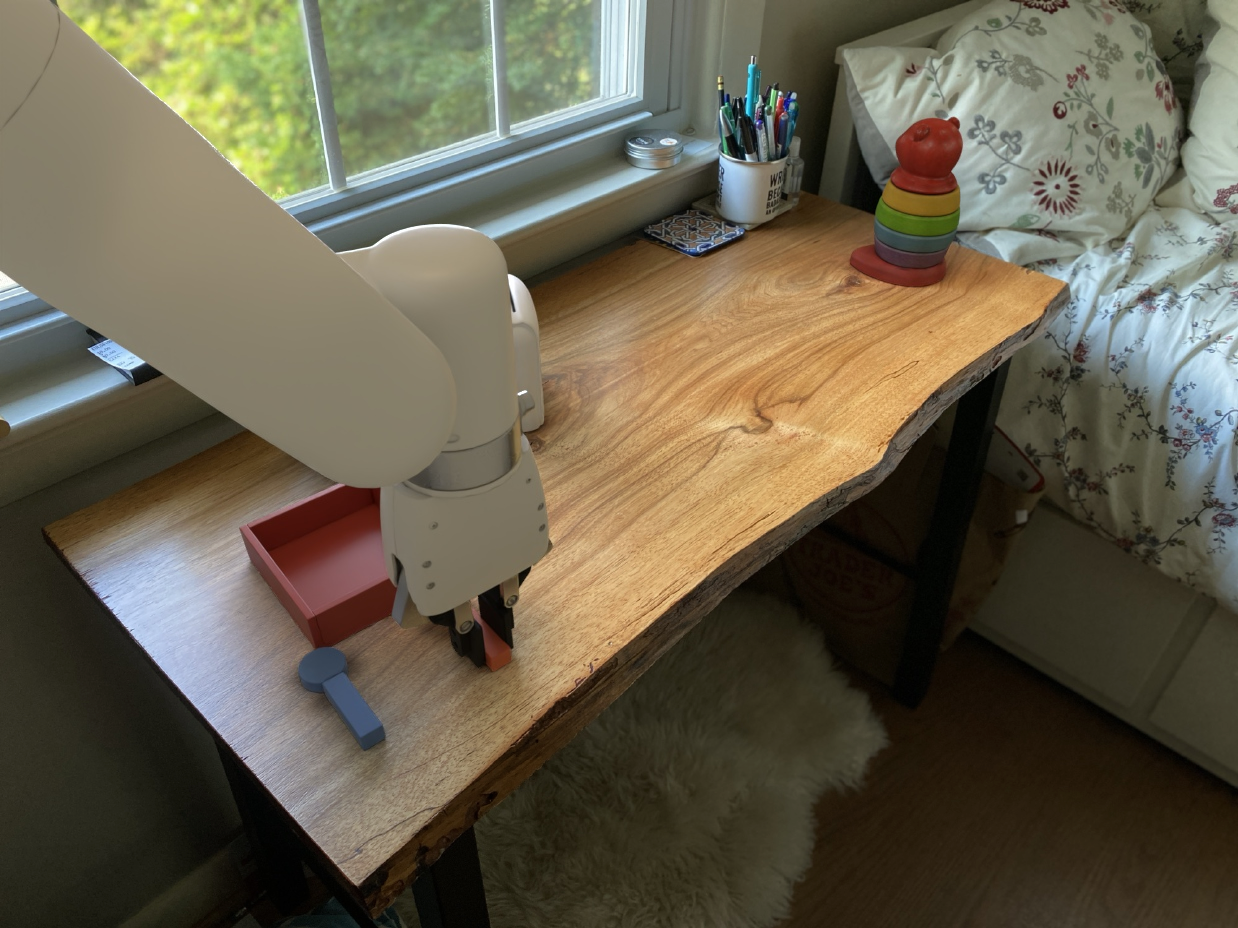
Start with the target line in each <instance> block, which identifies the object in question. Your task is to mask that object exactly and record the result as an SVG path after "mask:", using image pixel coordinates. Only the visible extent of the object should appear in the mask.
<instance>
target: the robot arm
mask: <svg viewBox="0 0 1238 928" xmlns="http://www.w3.org/2000/svg"><path fill="white" fill-rule="evenodd" d="M0 272H1V273H2V274H4V275H5V276H6V277H8V278H9V279H11V280H12V281H13V282H15V283H16V284H17V285H18V286H20V287H22V288H23V289H24V290H26V291H28V292H29V293H31V294H32V295H34V296H35V297H37V298H38V299H41V300H42V301H43V302H45V303H47V304H48V305H49V306H52V307H53V308H55V309H57V310H58V311H60V312H61V313H63V314H65V315H67V316H68V317H70V318H72V319H73V320H76V322H79V323H81V324H82V325H84V326H86V327H88V328H89V329H91V330H92V331H95V332H96V333H98V334H100V335H101V336H103V337H104V338H106V339H108V340H110V341H111V342H112V343H115V344H116V345H118V346H120V347H121V348H123V349H124V350H125V351H128V352H129V353H131V354H132V355H134V356H136V357H137V358H139V359H140V360H142V361H143V362H145V363H146V364H148V365H149V366H150V367H152V368H154V369H155V370H157V371H159V372H160V373H161V374H162V375H164V376H166V377H168V378H169V379H170V380H172V381H173V382H175V383H177V384H178V385H179V386H181V387H183V388H184V389H186V391H189V392H190V393H192V394H193V395H195V396H196V397H198V398H199V399H201V400H202V401H204V402H205V403H206V404H208V405H210V406H211V407H213V408H214V409H216V410H217V411H218V412H220V413H222V414H223V415H225V416H226V417H228V418H230V419H231V420H232V421H234V422H236V423H237V424H239V425H241V426H242V427H243V428H245V429H247V430H249V431H250V432H251V433H253V434H255V435H256V436H258V437H260V438H261V439H263V440H264V441H266V442H267V443H269V444H271V445H272V446H274V447H276V448H278V449H279V450H281V451H282V452H284V453H285V454H287V455H289V456H291V457H292V458H294V459H295V460H297V461H299V462H300V463H302V464H304V465H305V466H307V467H308V468H310V469H311V470H313V471H315V472H317V473H318V474H320V475H322V476H324V477H325V478H327V479H328V480H331V481H333V482H335V483H337V484H339V483H340V484H343V485H348V486H353V487H357V488H379V487H381V493H380V518H381V532H382V542H383V551H384V558H385V565H386V569H387V573H388V576H389V578H390V580H391V582H392V583H393V585H394V586H395V587H397V591H396V596H395V601H394V605H393V610H392V614H391V618H392V619H393V621H394V622H395V623H396V624H397V625H398V626H399V628H400V629H402V630H404V631H405V630H409V629H414V628H418V627H422V626H426V625H427V624H429V623H432V624H433V625H437V626H441V627H445V628H447V629H448V634H449V640H450V644H451V647H452V649H453V650H454V652H455V654H457V655H458V656H459V658H460V659H463V658H465V657H467V658H468V659H469V660H470V662H471V663H472V664H473V665H474V666H475V667H476V669H481V668H483V667H485V666H486V663H485V662H486V657H485V652H486V651H485V644H484V636H483V629H482V627H481V625H480V624H479V623H478V622H477V621H476V620H475V619H474V616H473V614H472V609H471V606H472V605H471V604H472V603H471V600H472V599H473V598H476V597H477V602H478V609H479V615H480V617H481V618H482V619H483V620H484V621H485V622H486V623H487V624H488V625H489V626H490V628H491V629H492V630H493V631H494V632H495V633H496V634H497V635H498V636H499V637H500V638H501V639H502V640H503V641H504V642H505V643H506V644H507V645H508V646H509V647H510V648H511V650H513V649H514V637H513V630H514V629H515V617H514V607H515V606H516V605H517V604H518V603H519V601H520V588H521V586H522V585H523V584H524V582H525V580H526V579H527V577H528V576H529V575H530V573H531V571H532V567H535V566H536V565H537V564H538V563H539V562H541V561H542V559H544V558H545V557H546V556H547V555H548V554H549V553H550V552H551V551H552V549H553V548H554V543H553V542H552V540H551V538H550V527H549V526H550V525H549V515H548V508H547V507H548V506H547V502H546V496H545V495H546V494H545V491H544V486H543V482H542V478H541V473H540V470H539V467H538V463H537V461H536V457H535V455H534V452H533V449H532V447H531V444H530V441H529V439H528V437H527V436H526V434H524V432H522V418H523V417H525V416H526V413H529V412H531V411H533V410H534V409H535V402H534V399H533V397H532V396H531V394H530V393H529V392H528V391H523V392H520V393H518V394H517V380H516V366H515V353H514V340H513V327H512V314H511V301H510V288H509V277H508V274H509V271H508V263H507V260H506V258H505V255H504V253H503V251H502V249H501V248H500V246H499V245H498V244H497V243H496V242H495V241H494V240H493V239H492V238H491V237H489V236H488V235H487V234H484V233H483V232H481V231H479V230H477V229H474V228H471V227H468V226H463V225H457V224H449V223H447V224H442V223H439V224H438V223H437V224H425V225H424V224H423V225H417V226H411V227H407V228H404V229H400V230H397V231H394V232H392V233H390V234H388V235H386V236H384V237H383V238H382V239H380V240H379V241H377V242H376V243H374V244H373V245H371V246H368V247H362V248H357V249H353V250H347V251H346V250H345V251H340V252H339V251H338V252H335V251H334V250H333V249H331V248H330V247H329V246H328V245H327V244H326V243H325V242H324V241H322V240H321V239H320V238H319V237H318V236H317V235H315V234H314V232H312V231H311V230H310V229H308V228H307V227H306V226H305V225H303V224H302V222H300V221H299V220H298V219H297V218H295V216H293V215H292V214H290V212H289V211H287V210H286V209H284V208H283V206H281V205H280V204H279V203H277V202H276V201H275V200H274V199H273V198H272V197H271V196H270V195H268V194H267V193H266V192H264V191H263V189H262V188H260V186H258V185H256V183H255V182H253V181H252V180H251V179H250V178H249V177H248V176H246V174H244V173H243V172H242V171H241V170H240V169H238V168H237V167H236V165H234V163H232V162H231V161H230V160H229V159H228V158H226V156H225V155H223V154H222V153H221V152H220V151H219V150H218V149H217V148H216V146H214V145H213V144H212V143H211V142H210V141H209V140H208V139H207V138H206V137H204V135H202V134H201V133H200V132H199V131H198V130H197V129H196V128H195V127H193V126H192V125H191V124H190V123H189V122H188V121H187V120H185V119H184V118H183V117H182V116H181V115H180V114H179V113H178V112H177V111H175V110H174V109H173V108H172V107H171V106H170V105H169V104H168V103H166V102H165V101H163V100H162V99H161V98H160V97H159V96H158V95H156V93H154V92H153V91H152V90H151V89H150V88H149V87H147V86H146V85H145V84H144V83H142V82H141V81H140V80H139V79H138V78H137V77H136V76H135V75H134V74H133V73H131V72H130V71H129V70H128V69H127V68H126V67H125V66H124V65H122V64H121V63H120V62H119V61H118V60H117V59H116V58H115V57H114V56H113V55H111V54H110V53H109V52H108V51H107V50H106V49H104V47H102V46H101V45H100V44H99V43H97V41H95V39H93V38H92V36H90V35H89V34H88V33H86V31H84V30H83V29H82V28H81V27H80V26H79V25H78V24H76V22H74V20H72V19H71V18H70V17H69V16H68V15H67V14H66V13H65V12H64V11H63V10H62V9H61V8H60V7H58V5H56V4H55V2H53V1H51V0H0Z"/></svg>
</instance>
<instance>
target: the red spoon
mask: <svg viewBox="0 0 1238 928" xmlns="http://www.w3.org/2000/svg"><path fill="white" fill-rule="evenodd" d="M471 609H472V614H473V616H474V619H475V620H476V621H477V622H478V623H479V624H480V625H481V627H482V629H483V636H484V644H485V651H486V652H485V657H486V662H485V665H486V666H487V667H488V668H489V669H490V670H491V671H492V672H495V671H497V670H498V669H500V668H502V667H504V666H505V665H507V664H509V663H510V662H512V660H513V659H512V649H511V648H510V647H509V646H508V645H507V644H506V643H505V642H504V641H503V640H502V639H501V638H500V637H499V636H498V635H497V634H496V633H495V632H494V631H493V630H492V629H491V628H490V626H489V625H488V624H487V623H486V622H485V621H484V620H483V619H482V618H481V617H480V613H479V612H478V611H477V610H476V609H475V608H474V607H473V606H472V605H471Z"/></svg>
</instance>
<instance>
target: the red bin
mask: <svg viewBox="0 0 1238 928" xmlns="http://www.w3.org/2000/svg"><path fill="white" fill-rule="evenodd" d="M380 493H381V487H379V488H357V487H353V486H348V485H343V484H340V483H337V484H335V485H332V486H330V487H328V488H326V489H323V490H321V491H319V492H317V493H314V494H311V495H309V496H307V497H304V498H303V499H300V500H298V501H296V502H294V503H291V504H288V505H286V506H284V507H282V508H280V509H278V510H275V511H272V512H271V513H269V514H266V515H264V516H262V517H260V518H257V519H255V520H253V521H251V522H248V523H246V524H243V525H241V526H239V527H238V529H239V533H240V536H241V538H242V540H243V544H244V546H245V550H246V553H247V555H248V558H249V561H250V562H251V564H252V565H253V566H254V568H255V569H256V570H257V572H258V573H259V575H260V576H261V577H262V579H263V580H264V582H265V583H266V584H267V585H268V587H269V588H270V590H271V591H272V593H273V595H275V597H276V599H278V601H279V602H280V604H281V605H282V606H283V608H284V609H285V611H286V612H287V614H288V615H289V616H290V618H291V619H292V620H293V622H294V623H295V624H296V626H297V627H298V629H299V630H300V631H301V632H302V634H303V635H304V637H305V638H306V640H307V641H308V642H309V644H310V645H311V646H312V648H313V650H315V649H318V648H322V647H332V646H334V645H336V644H338V643H339V642H342V641H343V640H345V639H347V638H349V637H351V636H354V634H355V635H356V634H357V633H359V632H360V631H362V630H364V629H366V628H368V627H370V626H372V625H373V624H376V623H377V622H379V621H381V620H383V619H385V618H387V617H389V616H392V610H393V605H394V601H395V596H396V591H397V587H395V586H394V585H393V583H392V582H391V580H390V578H389V576H388V573H387V569H386V565H385V558H384V551H383V542H382V532H381V518H380Z"/></svg>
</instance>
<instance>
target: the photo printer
mask: <svg viewBox="0 0 1238 928" xmlns="http://www.w3.org/2000/svg"><path fill="white" fill-rule="evenodd" d="M508 277H509V288H510V301H511V314H512V327H513V340H514V353H515V366H516V380H517V394H518V393H520V392H523V391H528V392H529V393H530V394H531V396H532V397H533V399H534V402H535V409H534V410H533V411H531V412H529V413H526V416H525V417H523V418H522V432H523V433H528V432H532V431H535V430H537V429H539V428H540V426H542V425H544V422H545V402H544V401H545V399H544V390H543V374H542V373H543V372H542V357H541V340H540V325H539V320H538V315H537V311H536V306H535V304H534V301H533V298H532V295H531V293H530V291H529V289H528V288H527V286H526V285H525V284H524V282H523V281H522V280H521V279H520V278H518V277H516V276H515V275H513V274H510V273H508Z"/></svg>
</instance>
